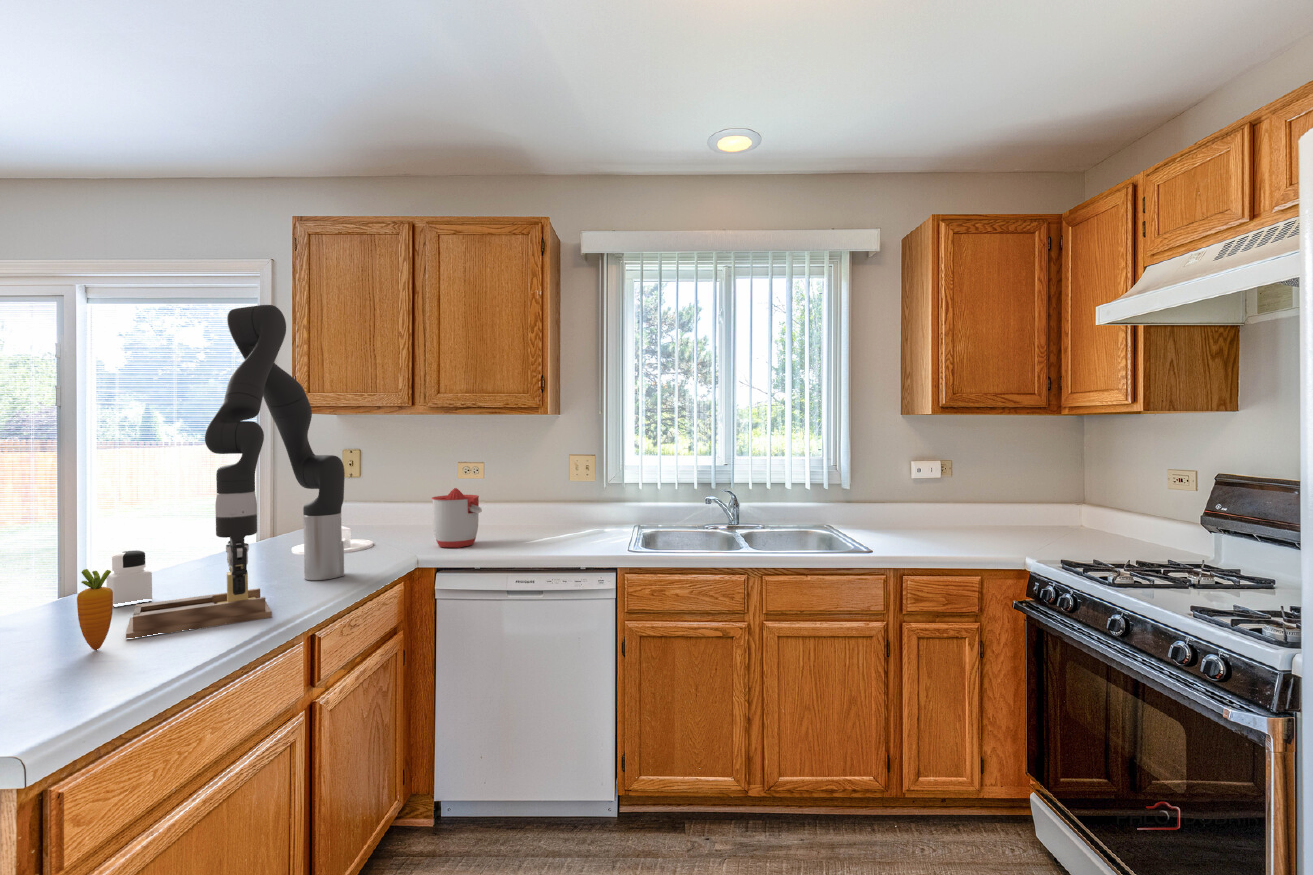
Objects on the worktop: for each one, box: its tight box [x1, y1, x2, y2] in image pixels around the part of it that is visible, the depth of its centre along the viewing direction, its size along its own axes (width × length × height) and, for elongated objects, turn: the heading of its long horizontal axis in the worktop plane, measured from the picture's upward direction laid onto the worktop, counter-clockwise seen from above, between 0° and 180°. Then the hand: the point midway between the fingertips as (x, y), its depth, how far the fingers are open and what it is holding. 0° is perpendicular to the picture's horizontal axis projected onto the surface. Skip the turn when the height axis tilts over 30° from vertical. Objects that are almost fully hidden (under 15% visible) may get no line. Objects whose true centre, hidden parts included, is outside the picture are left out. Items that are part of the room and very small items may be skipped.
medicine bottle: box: [105, 549, 153, 604], centre depth 151 cm, size 7×7×12 cm
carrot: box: [76, 568, 114, 651], centre depth 117 cm, size 5×5×15 cm
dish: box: [291, 525, 374, 556], centre depth 220 cm, size 25×25×11 cm
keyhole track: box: [125, 587, 273, 639], centre depth 135 cm, size 24×14×4 cm, turn 127°
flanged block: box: [217, 571, 255, 604], centre depth 139 cm, size 7×7×8 cm
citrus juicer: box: [431, 487, 482, 549], centre depth 222 cm, size 16×17×20 cm
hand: (238, 590), depth 139 cm, fingers open, 5 cm apart
